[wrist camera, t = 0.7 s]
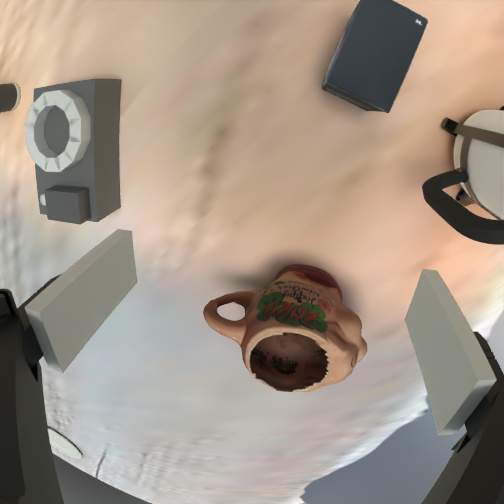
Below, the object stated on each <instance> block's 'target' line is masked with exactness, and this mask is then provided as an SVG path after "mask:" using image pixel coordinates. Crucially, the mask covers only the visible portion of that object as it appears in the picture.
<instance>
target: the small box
mask: <svg viewBox="0 0 504 504" xmlns="http://www.w3.org/2000/svg"><path fill="white" fill-rule="evenodd" d="M427 23H428V20H427V19H426V18H425V17H423V16H421V15H419V14H417V13H415V12H414V11H412V10H410V9H408V8H407V7H405V6H403V5H401V4H399V3H397V2H395V1H393V0H360V1H359V3H358V5H357V7H356V8H355V10H354V12H353V14H352V16H351V18H350V20H349V22H348V24H347V26H346V28H345V30H344V32H343V34H342V37H341V39H340V41H339V43H338V45H337V48H336V50H335V53H334V55H333V58H332V60H331V62H330V65H329V67H328V70H327V73H326V76H325V78H324V82H323V85H322V89H323V90H325V91H327V92H329V93H331V94H333V95H336V96H338V97H340V98H342V99H344V100H346V101H348V102H350V103H352V104H354V105H356V106H358V107H360V108H362V109H364V110H366V111H381V112H382V111H383V112H386V113H389V112H390V110H391V107H392V105H393V103H394V101H395V99H396V97H397V94H398V92H399V90H400V87H401V85H402V83H403V81H404V79H405V76H406V74H407V72H408V69H409V67H410V65H411V62H412V60H413V58H414V55H415V52H416V50H417V48H418V45H419V43H420V41H421V38H422V36H423V33H424V30H425V28H426V25H427Z"/></svg>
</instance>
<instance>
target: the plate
mask: <svg viewBox="0 0 504 504" xmlns="http://www.w3.org/2000/svg"><path fill="white" fill-rule="evenodd" d="M48 434H49V440H50V444H51V445H52V446H54V447H55V448H56V449H58V450H60V451H61V452H62V453H64V454H66V455H68V456H70V457H72V458H75V459H82V455H81V453H80V452H79V451H78V450H77V448H76V447H75V446H74V445H73V444H72V443H71V442H70V441H69V440H67V439H66V438H65V437H64V436H62V435H61V434H59V433H58V432H56V431H54V430H52V429H50V428H48ZM54 436H57V437H54ZM58 437H59V438H58ZM55 438H56V439H57V440H58V441H57V440H56V439H55ZM63 444H64V445H63Z"/></svg>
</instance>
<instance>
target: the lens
mask: <svg viewBox="0 0 504 504" xmlns="http://www.w3.org/2000/svg"><path fill="white" fill-rule="evenodd" d="M20 98H21V90H20V87H19V85H18V84H17V83H9V84H1V85H0V112H5V111H11V110H14V109H16V108H17V106H18V104H19V102H20Z"/></svg>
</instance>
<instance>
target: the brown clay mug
mask: <svg viewBox="0 0 504 504" xmlns="http://www.w3.org/2000/svg"><path fill="white" fill-rule="evenodd" d="M231 302H235V303H237V304H240V305H242V306H243V307H244V308H245V317H244V318H242V319H241V320H238V321H231V320H228V319H225V318H223V317H221V316H220V315H219V314H218V313H217V308H218V307H219V306H221V305H224V304H228V303H231ZM203 314H204V318H205V320H206V322H207V323H208V325H209V326H210V327H211V328H212V329H213V330H215V331H216V332H218V333H220V334H221V335H224V336H226V337H228V338H231V339H233V340H235V341H236V342H237V343H239V345H240V347H241V349H242V355H243V361H244V363H245V366H246V368H247V369H248V370H249V372H250V373H251V374H252V375H253V376H254V377H255V378H256V379H257V380H259V381H260V382H262V383H263V384H265V385H267V386H269V387H271V388H274V389H276V390H277V391H287V392H298V391H300V392H310V391H313V390H315V389H318V388H321V387H323V386H327V385H331V384H335V383H339V382H341V381H343V380H344V379H345V378H347V377H348V376H349V375H350V374H351V372H352V371H353V368H354V367H355V365H356V363H358V362H359V361H360V360H361V359H362V358H363V357H364V355H365V354H366V352H367V343H366V342H365V340H364V339H363V338H362V336H361V329H362V323H361V320H360V318H359V316H358V315H357V314H356V313H354V312H353V311H352V310H350V309H349V308H347V307H344V306H343V305H342V294H341V290H340V288H339V286H338V284H337V283H336V281H335V280H334V279H333V278H332V277H331V276H330V275H329V274H327V273H326V272H324V271H322V270H319V269H317V268H314V267H310V266H304V265H293V266H289V267H287V268H285V269H283V270H282V271H281V272H280V273H279V274H278V275H277V277H276V279H275V280H274V281H273V282H272V283H271V284H269V285H268V286H266V287H265V288H264V289H263V290H262V291H261V292H259V291H242V292H235V293H230V294H226V295H224V296H222V297H219V298H216V299H215V300H211V301H210V302H209V303H208V304H207V305H206V306H205V308H204V311H203Z"/></svg>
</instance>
